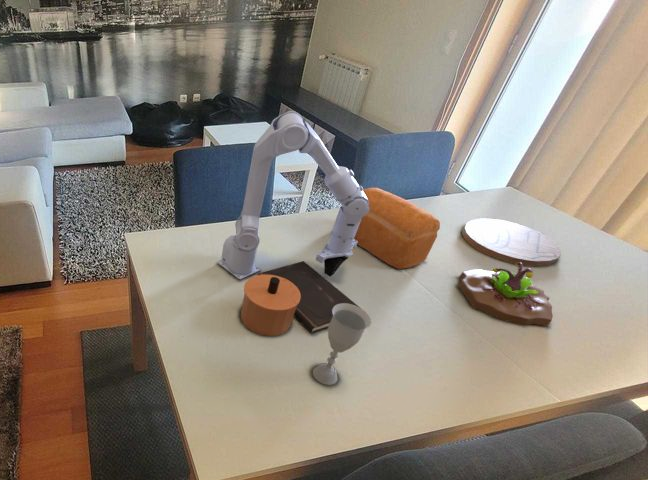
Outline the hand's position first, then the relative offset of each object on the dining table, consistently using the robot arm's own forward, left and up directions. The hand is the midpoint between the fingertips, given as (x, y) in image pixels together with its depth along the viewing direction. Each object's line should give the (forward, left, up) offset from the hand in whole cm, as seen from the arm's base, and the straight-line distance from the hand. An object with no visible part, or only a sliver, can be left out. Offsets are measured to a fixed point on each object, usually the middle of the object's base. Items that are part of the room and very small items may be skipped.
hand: (328, 274), depth 114 cm
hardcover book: (+2, -12, -1) cm, 13 cm away
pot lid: (+2, -27, +7) cm, 28 cm away
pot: (+2, -27, -1) cm, 27 cm away
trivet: (+19, +64, -1) cm, 67 cm away
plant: (+31, +32, -1) cm, 45 cm away
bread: (-3, +28, -1) cm, 28 cm away
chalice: (+22, -29, -1) cm, 37 cm away
